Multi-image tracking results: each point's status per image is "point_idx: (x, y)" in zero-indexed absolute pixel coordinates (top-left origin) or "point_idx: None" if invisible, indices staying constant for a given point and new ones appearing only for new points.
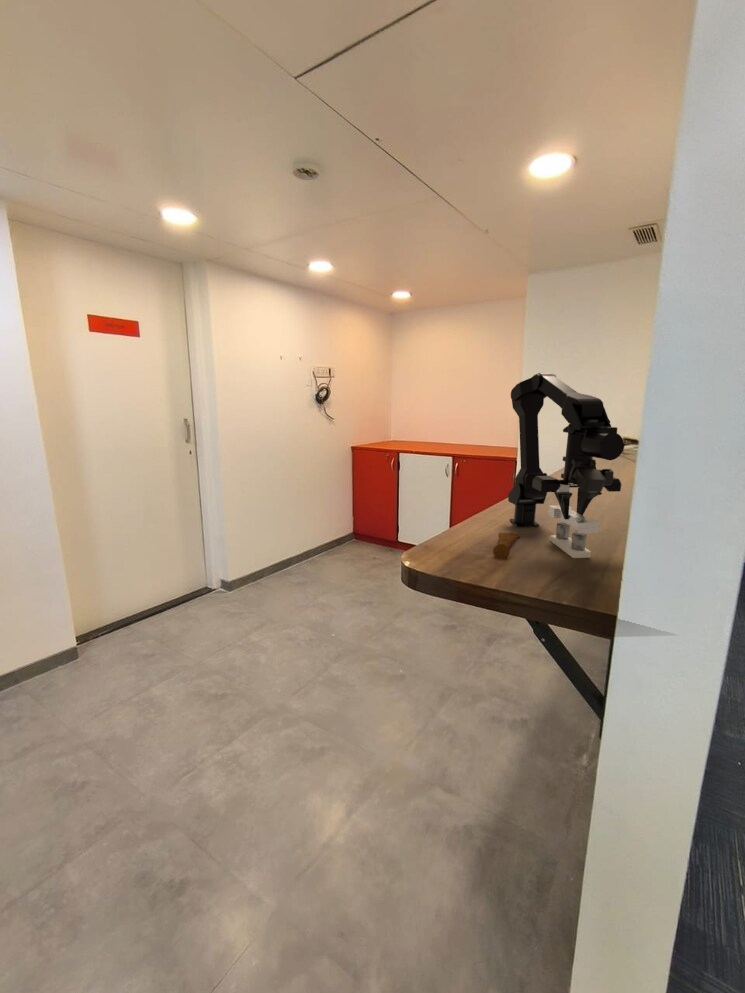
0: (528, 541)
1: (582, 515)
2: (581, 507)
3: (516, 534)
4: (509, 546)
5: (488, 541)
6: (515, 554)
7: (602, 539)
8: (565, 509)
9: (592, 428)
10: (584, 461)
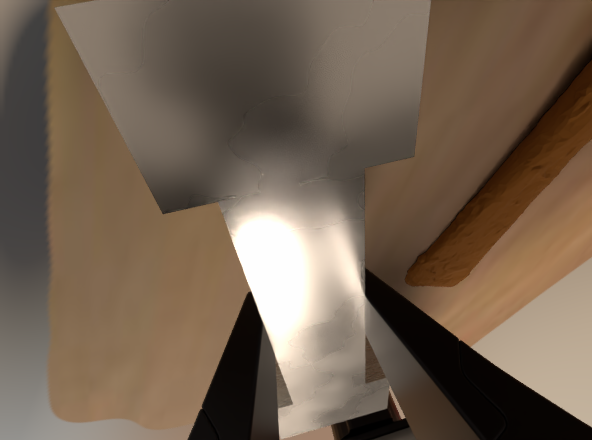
0: (403, 232)
1: (252, 293)
2: (261, 389)
3: (422, 274)
4: (539, 133)
5: (539, 205)
6: (543, 65)
7: (112, 308)
8: (429, 320)
9: None
10: None
